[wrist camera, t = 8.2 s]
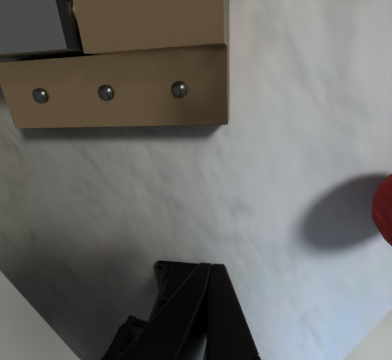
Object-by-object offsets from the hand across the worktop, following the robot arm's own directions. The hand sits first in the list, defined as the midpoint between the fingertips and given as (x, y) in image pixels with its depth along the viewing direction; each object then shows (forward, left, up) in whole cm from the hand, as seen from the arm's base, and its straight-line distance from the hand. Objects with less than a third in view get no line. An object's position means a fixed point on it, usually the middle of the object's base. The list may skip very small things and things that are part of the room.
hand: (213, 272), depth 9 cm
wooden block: (+7, +8, -12) cm, 16 cm away
